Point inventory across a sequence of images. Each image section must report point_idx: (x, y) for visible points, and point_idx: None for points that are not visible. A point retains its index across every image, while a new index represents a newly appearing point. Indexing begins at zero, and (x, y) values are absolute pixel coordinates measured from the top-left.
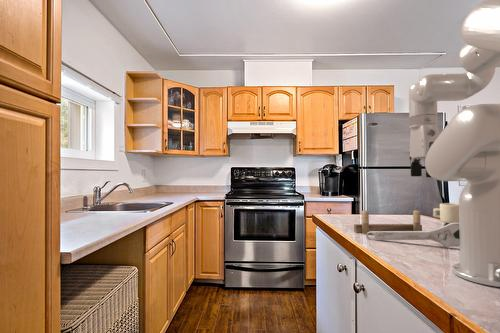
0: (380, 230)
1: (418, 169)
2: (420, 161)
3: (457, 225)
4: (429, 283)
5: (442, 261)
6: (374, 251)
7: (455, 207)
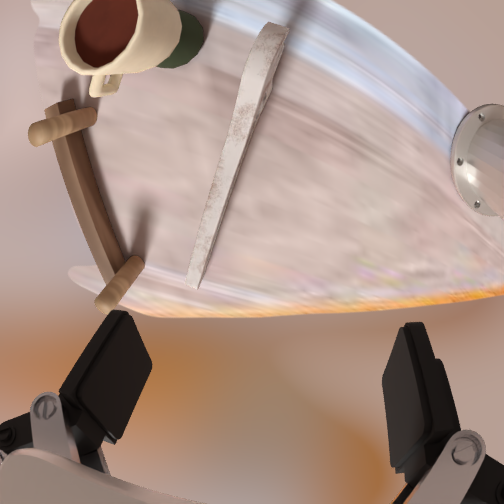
0: (105, 223)
1: (113, 376)
2: (66, 429)
3: (273, 60)
4: (495, 272)
5: (406, 181)
6: (324, 297)
7: (149, 22)
